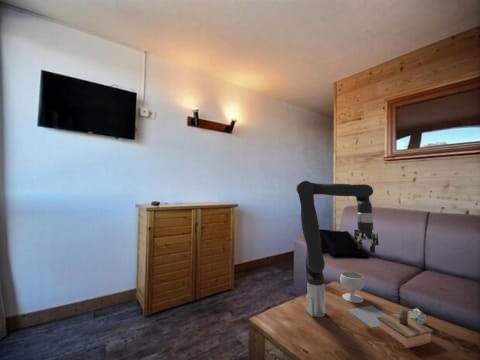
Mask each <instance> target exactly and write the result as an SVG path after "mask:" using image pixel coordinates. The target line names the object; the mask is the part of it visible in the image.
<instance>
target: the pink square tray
mask: <svg viewBox="0 0 480 360" xmlns="http://www.w3.org/2000/svg"><path fill="white" fill-rule="evenodd" d="M379 324H380V326H379V330H381V331H383V332H384V333H386V334H387V335H388V336H390V337H391V338H392V339H394V340H396V341H397V343H399V344H401V345H402V346H403V347H404V348H406V349H410V348H414V347H418V346H422V345H425V344H429V343H432V337H431V336H432V333H429V334H425V335H420V336H416V337H412V338H407V339H406V338H405V337H403V336H402V335H400V334H399V333H397V332H396V331H394V330H393V329H391V328H390V327H388V326H387V325H386V324H384V323H383V322H381V321H380V320H379Z"/></svg>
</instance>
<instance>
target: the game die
mask: <svg viewBox="0 0 480 360" xmlns="http://www.w3.org/2000/svg"><path fill="white" fill-rule="evenodd" d="M409 309H410V310H409ZM409 309H407V310H406V311H407V312H408V313H407V316H408V317H410V318H412V319H413V320H415V321H417V322H419V323H420V324H422V325H424V326H425V324H426V325H428V322H427V317H429V316H428V315H426V314H425V313H424V311H421V310H420V309H419V307H418V306H416V308H413V309H412V308H409Z"/></svg>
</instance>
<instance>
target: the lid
mask: <svg viewBox="0 0 480 360" xmlns="http://www.w3.org/2000/svg"><path fill="white" fill-rule="evenodd" d="M378 320H380V321H381V322H383V323H384V324H386V325H387V326H388V327H390V328H391V329H393V330H394V331H396V332H397V333H399V334H400V335H402V336H403V337H405V338H406V339H407V338H412V337H416V336H420V335H425V334H429V333H431V334H433V329H431V328H429V327H427V326H426V325H425V324H424V325H423V324H420V323H419V322H417V321H415V320H413V319H412V318H410V317H408V311H407V310H406V309H404V308H398V313H393V314H392V313H391V314H386V316H381V317H378Z"/></svg>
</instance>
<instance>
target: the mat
mask: <svg viewBox="0 0 480 360" xmlns="http://www.w3.org/2000/svg"><path fill="white" fill-rule="evenodd" d="M347 311H348V312H349V313H351V314H352V315H354V316H355V317H356V318H357V319H359V320H360V321H361V322H363V323H364V324H366V325H367V326H368V327H370V328H377V327H380V324H379V320H378V317H381V316H386V315H387V313H385V312H383V311H381V310H380V309H378V308H376V307H375V306H374V305H367V306H362V307H356V308H349V309H347Z"/></svg>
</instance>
